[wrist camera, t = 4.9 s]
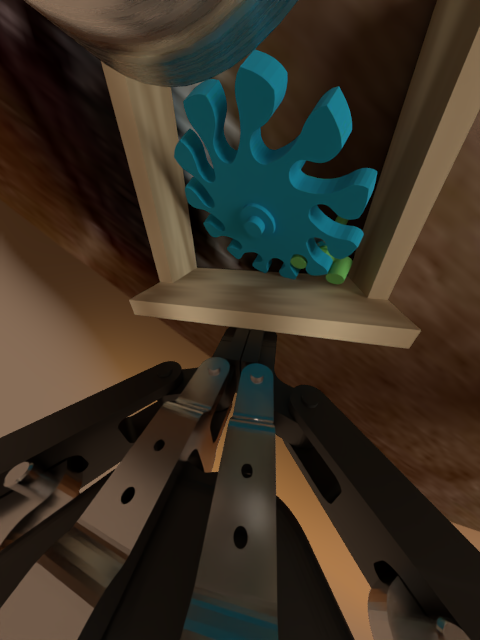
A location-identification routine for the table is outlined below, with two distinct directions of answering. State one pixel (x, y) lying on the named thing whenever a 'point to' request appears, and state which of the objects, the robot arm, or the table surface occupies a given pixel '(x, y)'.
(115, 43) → the ram
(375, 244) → the tan open box
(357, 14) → the table surface
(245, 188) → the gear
